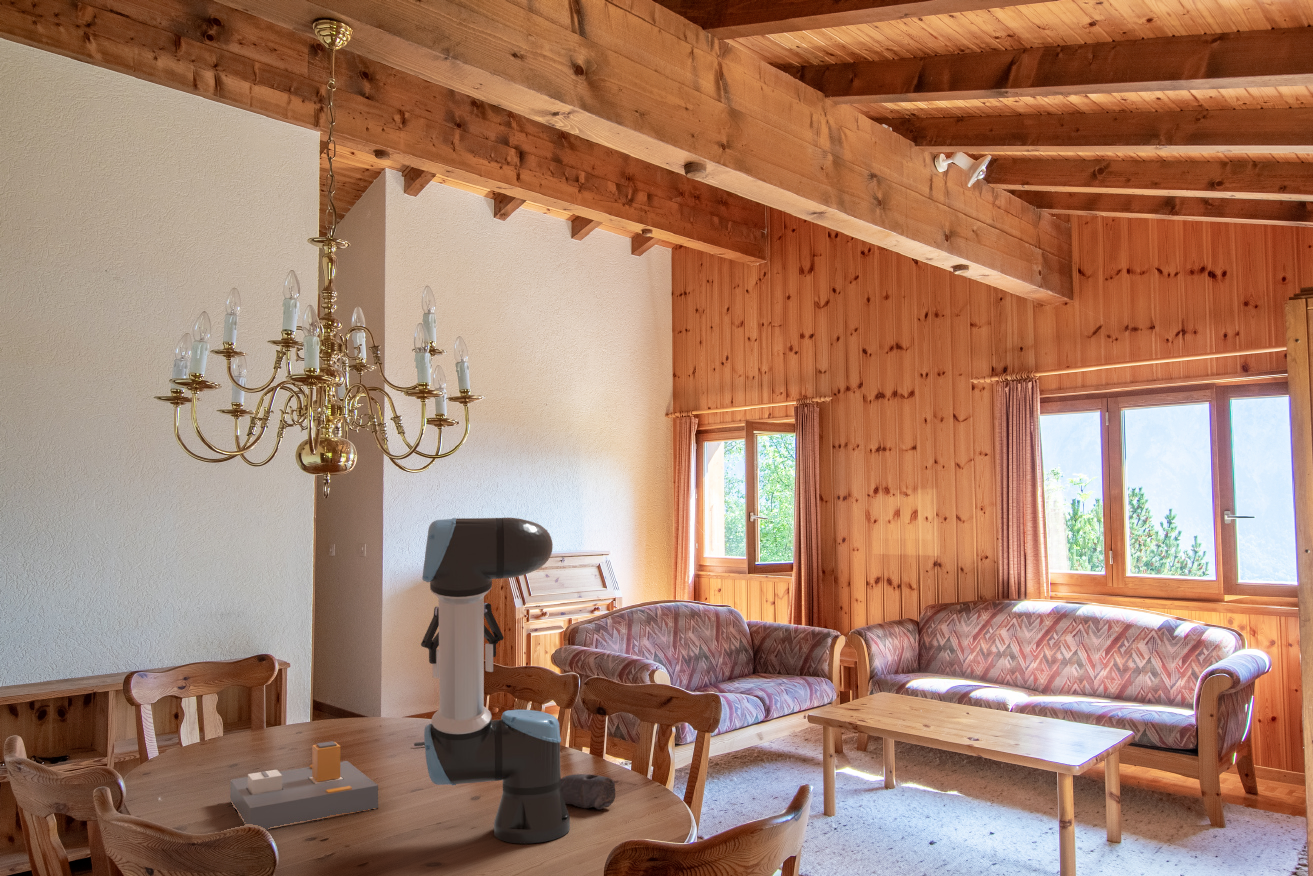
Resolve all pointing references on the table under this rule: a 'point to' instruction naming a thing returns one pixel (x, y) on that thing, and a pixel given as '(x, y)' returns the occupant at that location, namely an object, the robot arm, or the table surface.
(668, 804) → the table surface
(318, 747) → the cap
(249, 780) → the breaker untagged
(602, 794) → the perforated stone tool
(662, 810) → the table surface
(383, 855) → the table surface
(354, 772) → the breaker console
